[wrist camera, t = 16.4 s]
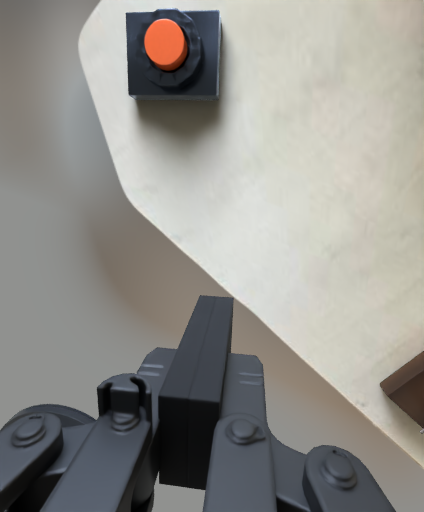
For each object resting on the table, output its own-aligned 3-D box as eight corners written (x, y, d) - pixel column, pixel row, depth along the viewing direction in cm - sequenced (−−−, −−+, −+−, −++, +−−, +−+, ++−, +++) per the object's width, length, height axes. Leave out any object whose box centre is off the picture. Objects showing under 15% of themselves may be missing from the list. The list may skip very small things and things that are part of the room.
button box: (135, 99, 37) (122, 90, 33) (133, 22, 35) (118, 3, 31) (218, 100, 36) (214, 91, 32) (221, 20, 34) (217, 0, 30)
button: (150, 71, 33) (144, 65, 31) (149, 27, 32) (143, 18, 30) (187, 70, 32) (183, 65, 30) (187, 26, 31) (184, 18, 29)
